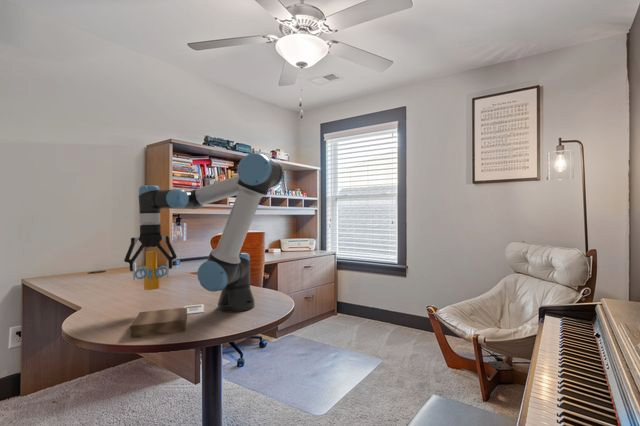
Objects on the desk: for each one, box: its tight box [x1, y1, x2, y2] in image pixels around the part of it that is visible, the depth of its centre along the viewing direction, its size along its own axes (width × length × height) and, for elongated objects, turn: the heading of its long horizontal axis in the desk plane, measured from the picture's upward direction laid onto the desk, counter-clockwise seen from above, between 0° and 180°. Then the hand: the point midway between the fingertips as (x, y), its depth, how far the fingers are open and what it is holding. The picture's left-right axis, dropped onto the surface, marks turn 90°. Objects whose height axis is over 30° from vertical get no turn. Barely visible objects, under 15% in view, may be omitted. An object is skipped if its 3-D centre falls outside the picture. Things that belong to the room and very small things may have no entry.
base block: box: [130, 307, 188, 339], centre depth 116 cm, size 16×16×4 cm
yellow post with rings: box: [135, 250, 167, 291], centre depth 134 cm, size 12×10×15 cm
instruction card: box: [183, 303, 205, 315], centre depth 138 cm, size 8×12×1 cm, turn 19°
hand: (151, 278), depth 134 cm, fingers closed on yellow post with rings, 11 cm apart
